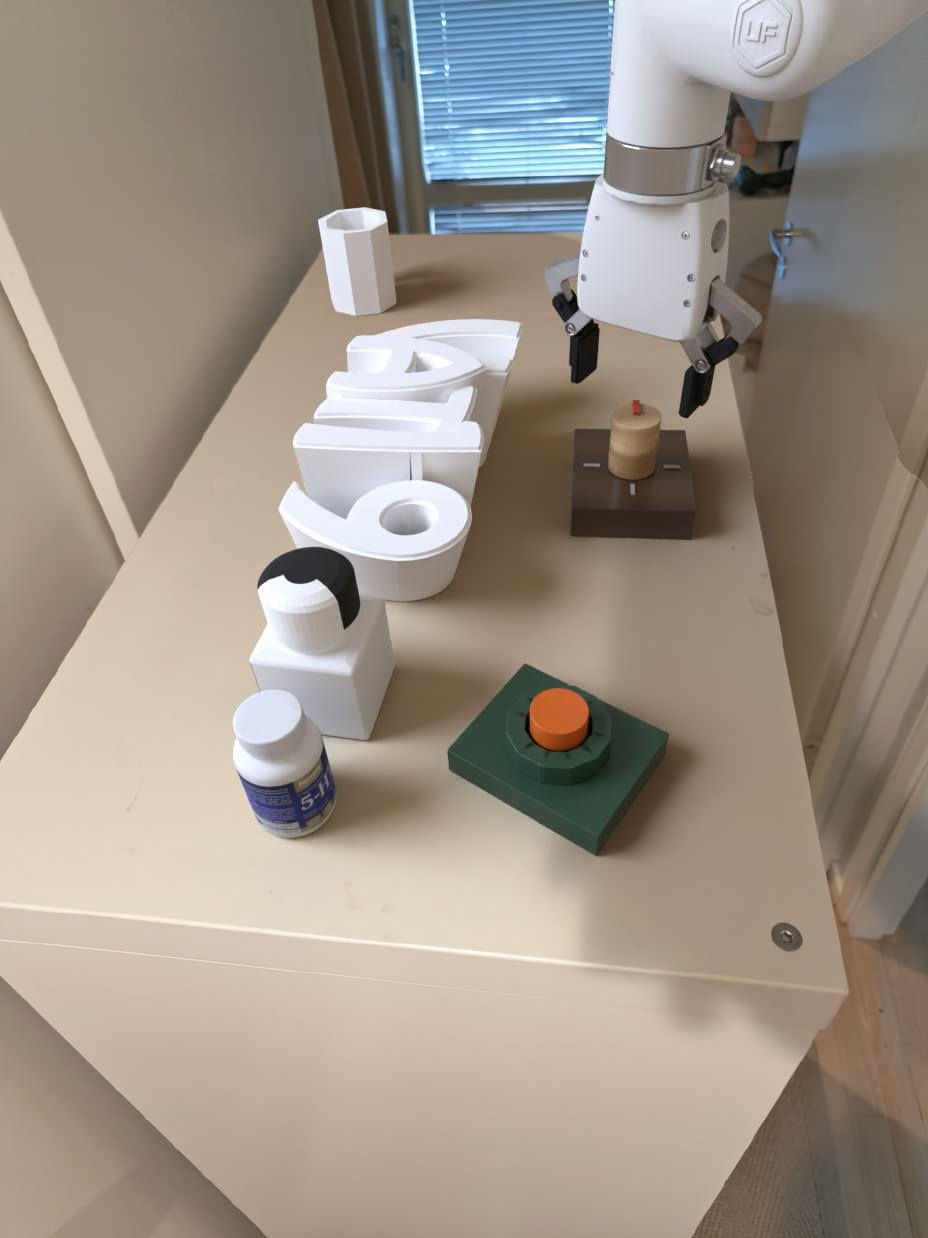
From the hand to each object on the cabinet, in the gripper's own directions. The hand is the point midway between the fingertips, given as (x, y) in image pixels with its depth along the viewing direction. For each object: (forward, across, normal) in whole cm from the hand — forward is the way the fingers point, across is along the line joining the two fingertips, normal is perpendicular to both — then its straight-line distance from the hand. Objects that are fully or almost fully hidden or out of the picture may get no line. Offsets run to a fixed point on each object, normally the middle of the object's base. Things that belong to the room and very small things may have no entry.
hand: (635, 392), depth 68 cm
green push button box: (+10, -10, +28) cm, 31 cm away
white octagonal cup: (+11, +48, -20) cm, 53 cm away
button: (+6, -10, +28) cm, 31 cm away
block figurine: (+10, +6, +32) cm, 34 cm away
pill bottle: (+10, +2, +40) cm, 41 cm away
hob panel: (+10, 0, 0) cm, 10 cm away
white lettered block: (+10, +16, +10) cm, 21 cm away
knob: (+7, 0, 0) cm, 7 cm away
